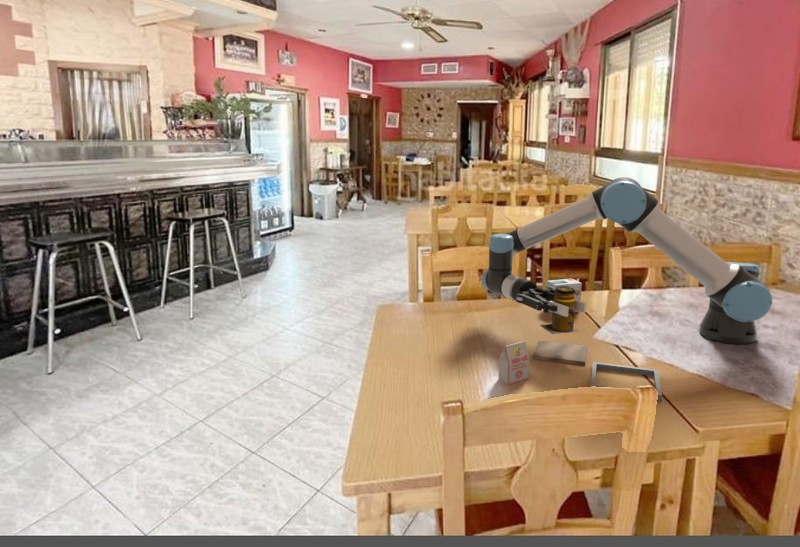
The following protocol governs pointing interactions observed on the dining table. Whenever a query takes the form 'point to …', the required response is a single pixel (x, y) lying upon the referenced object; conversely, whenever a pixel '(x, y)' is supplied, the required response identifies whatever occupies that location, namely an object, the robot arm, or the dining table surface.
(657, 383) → the square collar
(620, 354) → the dining table surface
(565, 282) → the light bulb box
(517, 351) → the white milk carton
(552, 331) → the yellow cylindrical jar
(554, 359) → the walnut board
